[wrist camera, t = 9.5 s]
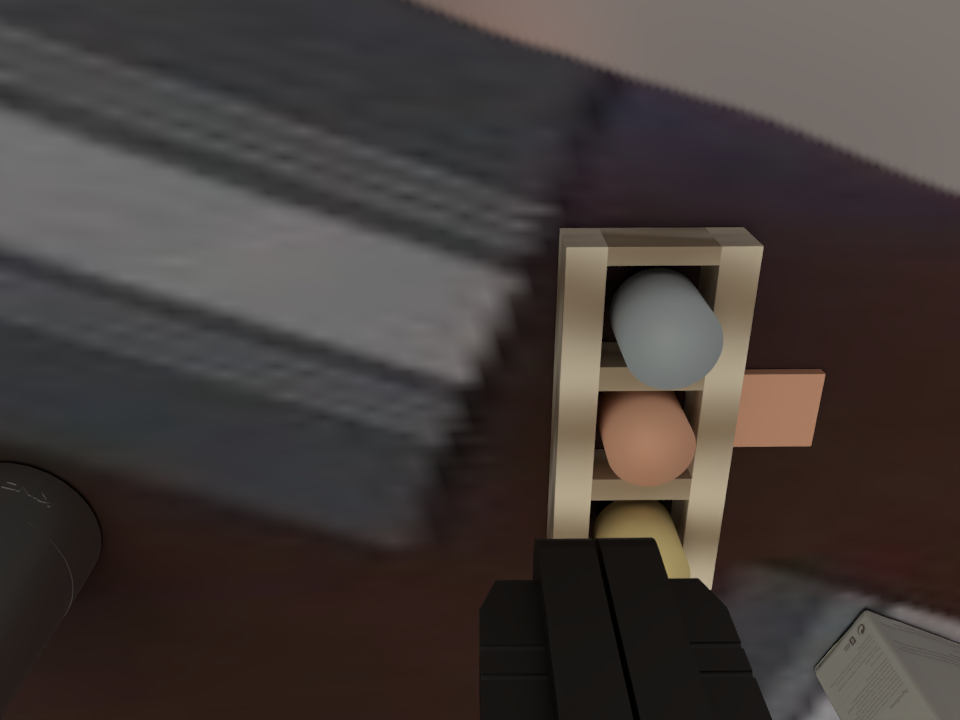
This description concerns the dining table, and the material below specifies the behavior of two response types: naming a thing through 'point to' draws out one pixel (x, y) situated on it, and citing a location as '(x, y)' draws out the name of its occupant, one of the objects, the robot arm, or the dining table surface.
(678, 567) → the ochre button
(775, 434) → the tile
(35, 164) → the dining table surface
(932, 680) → the skincare box
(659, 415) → the terracotta button
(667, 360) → the slate-grey button
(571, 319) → the button panel
